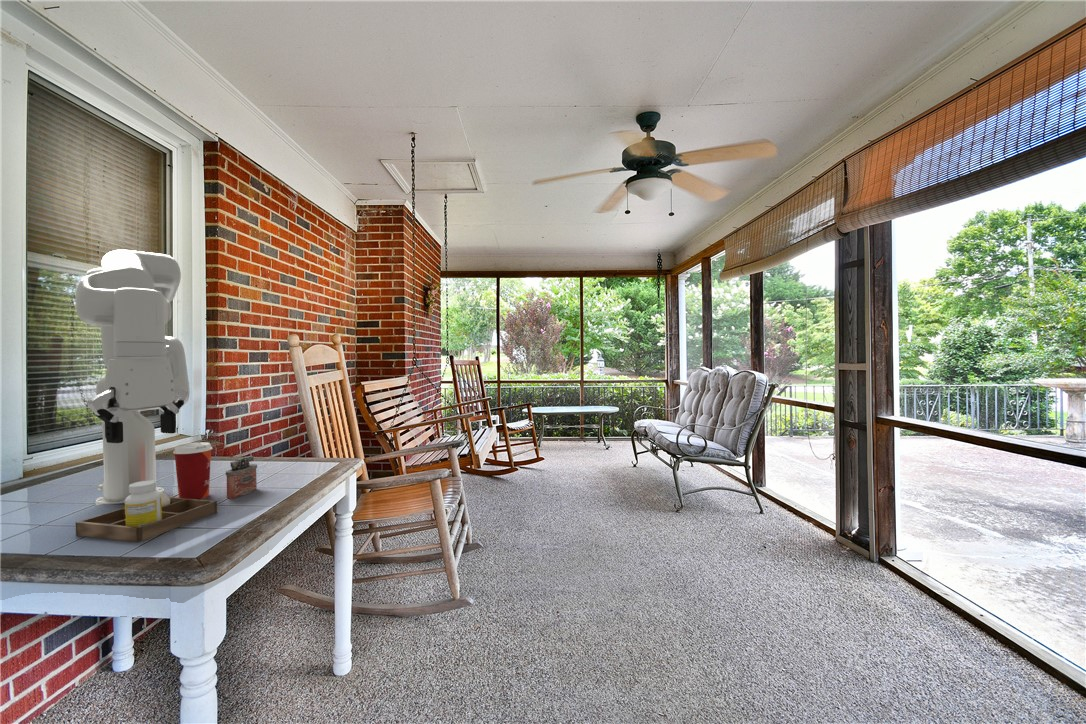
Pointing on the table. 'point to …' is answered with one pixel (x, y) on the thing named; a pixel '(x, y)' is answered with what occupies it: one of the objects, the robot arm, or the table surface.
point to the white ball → (164, 499)
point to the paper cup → (193, 469)
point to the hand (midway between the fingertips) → (143, 437)
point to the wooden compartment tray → (172, 517)
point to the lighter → (241, 477)
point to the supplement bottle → (143, 504)
